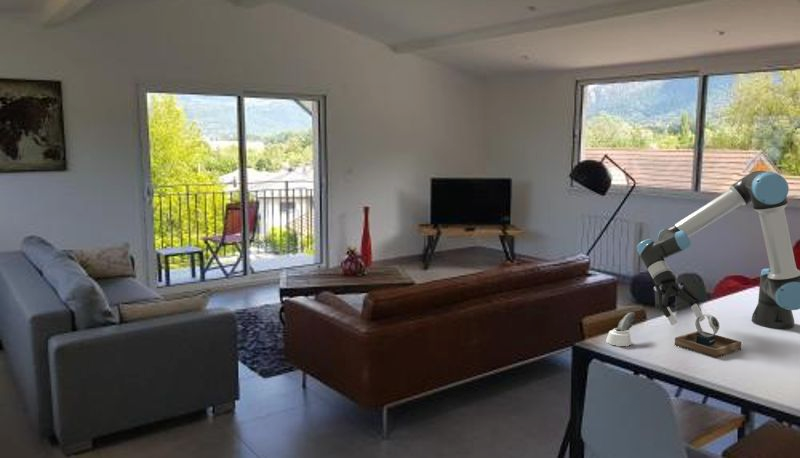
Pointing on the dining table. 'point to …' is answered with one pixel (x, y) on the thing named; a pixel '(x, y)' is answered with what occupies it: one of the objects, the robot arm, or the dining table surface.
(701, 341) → the watch
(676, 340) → the walnut tray
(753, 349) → the dining table surface
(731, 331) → the dining table surface
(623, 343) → the inkwell
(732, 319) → the dining table surface
